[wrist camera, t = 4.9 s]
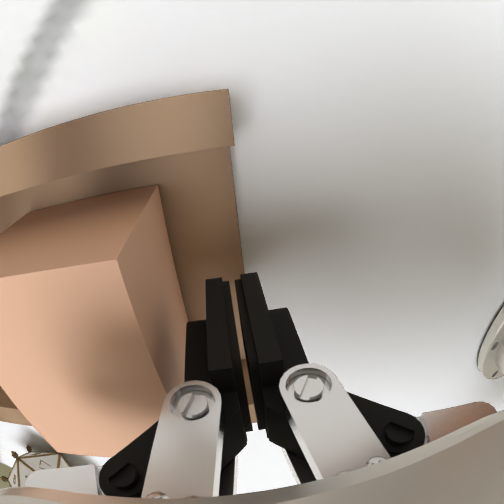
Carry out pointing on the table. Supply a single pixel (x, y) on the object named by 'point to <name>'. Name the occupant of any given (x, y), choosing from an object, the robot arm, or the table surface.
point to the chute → (142, 175)
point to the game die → (33, 465)
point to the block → (91, 320)
